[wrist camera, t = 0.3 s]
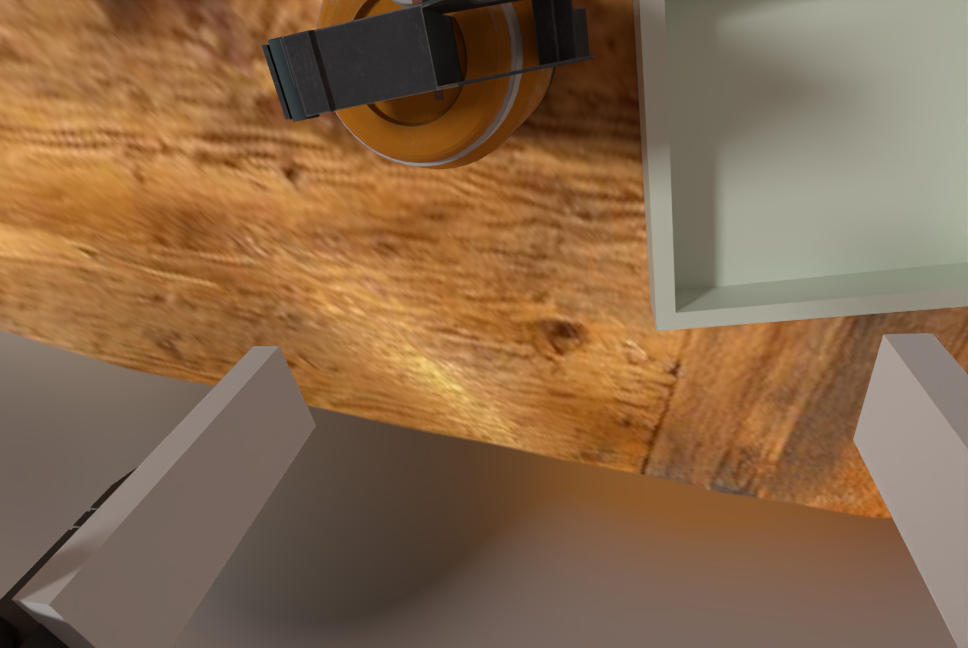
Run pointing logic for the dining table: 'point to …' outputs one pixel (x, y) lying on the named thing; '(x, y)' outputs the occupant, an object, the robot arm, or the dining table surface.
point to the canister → (427, 71)
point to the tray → (803, 157)
